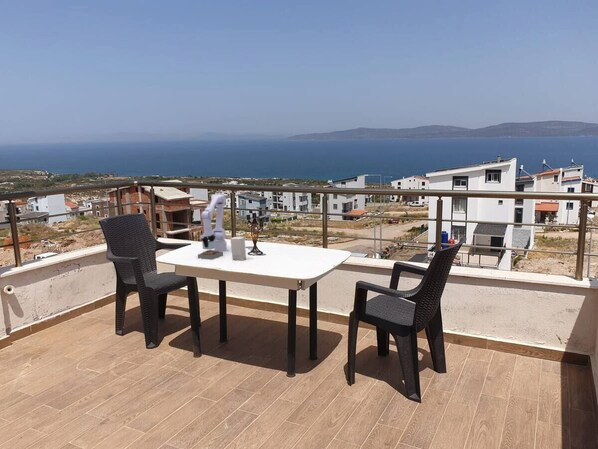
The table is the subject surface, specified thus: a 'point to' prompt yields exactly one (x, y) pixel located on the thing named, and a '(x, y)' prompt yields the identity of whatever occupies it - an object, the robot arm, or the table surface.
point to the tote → (210, 256)
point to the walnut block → (210, 252)
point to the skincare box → (238, 248)
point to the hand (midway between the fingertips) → (208, 246)
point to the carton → (209, 245)
